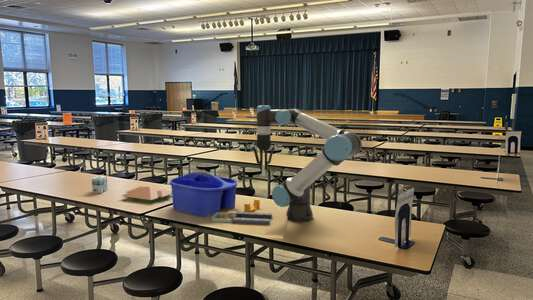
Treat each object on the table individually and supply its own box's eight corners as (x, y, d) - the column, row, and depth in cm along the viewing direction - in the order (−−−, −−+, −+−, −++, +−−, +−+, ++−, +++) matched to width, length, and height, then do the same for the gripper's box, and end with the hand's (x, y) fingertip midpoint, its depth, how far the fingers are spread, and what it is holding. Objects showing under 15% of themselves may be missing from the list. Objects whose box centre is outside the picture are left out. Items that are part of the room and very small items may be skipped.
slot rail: (272, 219, 210) (272, 213, 209) (269, 227, 197) (269, 220, 196) (237, 217, 212) (237, 211, 212) (232, 225, 200) (232, 219, 199)
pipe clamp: (250, 215, 217) (250, 204, 216) (244, 214, 219) (244, 203, 218) (261, 210, 227) (261, 200, 226) (256, 209, 229) (256, 198, 228)
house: (154, 205, 238) (154, 193, 236) (116, 199, 251) (115, 187, 250) (177, 196, 258) (177, 185, 257) (140, 191, 272) (140, 180, 271)
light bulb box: (101, 193, 266) (100, 178, 264) (92, 193, 266) (91, 178, 264) (108, 189, 276) (107, 175, 275) (99, 189, 276) (98, 175, 275)
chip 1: (229, 219, 208) (229, 212, 208) (227, 221, 204) (227, 214, 204) (222, 218, 209) (222, 212, 208) (220, 221, 205) (220, 214, 204)
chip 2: (236, 217, 208) (236, 210, 207) (234, 220, 204) (234, 213, 203) (229, 217, 208) (229, 210, 207) (227, 219, 204) (227, 212, 204)
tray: (236, 217, 212) (236, 212, 212) (231, 224, 201) (231, 219, 200) (216, 216, 214) (216, 211, 213) (210, 223, 202) (210, 218, 202)
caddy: (196, 197, 257) (195, 163, 254) (248, 207, 232) (248, 170, 229) (159, 208, 231) (158, 171, 228) (213, 221, 206) (212, 180, 203)
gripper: (276, 133, 208) (276, 174, 211) (253, 133, 209) (253, 174, 213) (274, 134, 200) (274, 177, 204) (250, 134, 202) (251, 177, 205)
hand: (263, 175), depth 208 cm, fingers closed
